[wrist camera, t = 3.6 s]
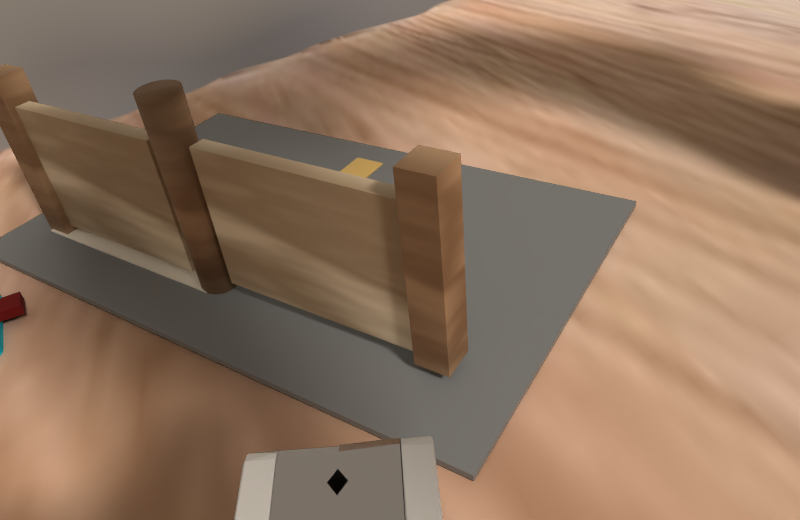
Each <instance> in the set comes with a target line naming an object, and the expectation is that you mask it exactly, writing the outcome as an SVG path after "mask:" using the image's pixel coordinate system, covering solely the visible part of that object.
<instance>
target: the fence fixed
mask: <svg viewBox="0 0 800 520" xmlns="http://www.w3.org/2000/svg"><path fill="white" fill-rule="evenodd" d="M133 95H134V97H135V100H136V103H137V106H138V109H139V112H140V115H141V117H142V120H143V123H144V126H145V129H141V128H137V127H133V126H129V125H125V124H121V123H117V122H113V121H109V120H105V119H101V118H96V117H93V116H88V115H84V114H80V113H76V112H72V111H68V110H64V109H60V108H56V107H52V106H48V105H43V104H39V103H38V101H37V99H36V97H35V95H34V92H33V90H32V88H31V86H30V84H29V81H28V79H27V77H26V75H25V72H24V70H23V68H21V67H16V66H11V65H6V64H4V65H1V66H0V126H1V129H2V130H3V133H4V135H5V136H6V139H7V141H8V142H9V145H10V147H11V149H12V151H13V153H14V155H15V157H16V159H17V161H18V163H19V165H20V167H21V169H22V171H23V173H24V175H25V177H26V179H27V181H28V183H29V185H30V187H31V189H32V191H33V193H34V195H35V197H36V199H37V201H38V203H39V205H40V207H41V209H42V211H43V213H44V215H45V217H46V219H47V221H48V223H49V225H50V227H51V229H55V230H57V231H60V232H62V233H65V234H67V235H68V234H69V233H71V232H73V231H74V230H76V229H78V228H80V229H82V230H85V231H87V232H90V233H93V234H95V235H98V236H101V237H103V238H106V239H109V240H111V241H114V242H116V243H119V244H122V245H124V246H127V247H130V248H132V249H135V250H138V251H140V252H143V253H145V254H148V255H151V256H153V257H156V258H159V259H161V260H164V261H166V262H169V263H172V264H174V265H177V266H180V267H182V268H185V269H188V270H190V271H194V270H196V273H197V276H198V279H199V282H200V284H201V287H202V289H203V290H204V291H206V292H207V293H208V294H222V293H226V292H228V291H230V290H232V289H233V288H235V287H236V286H237V285H236V284H233V283H232V282H231V279H230V276H229V273H228V270H227V266H226V263H225V260H224V257H223V254H222V251H221V247H220V244H219V241H218V238H217V235H216V232H215V228H214V225H213V222H212V219H211V216H210V213H209V209H208V206H207V203H206V200H205V197H204V194H203V190H202V187H201V184H200V181H199V178H198V175H197V171H196V168H195V165H194V162H193V159H192V156H191V152H190V149H189V147H190V146H191V145H193V144H195V143H197V142H198V141H199V140H198V136H197V133H196V130H195V126H194V123H193V120H192V117H191V113H190V110H189V107H188V103H187V100H186V97H185V93H184V91H183V87H182V84H181V82H179V81H177V80H160V81H155V82H151V83H148V84H145V85H143V86H141V87H139V88H138V89H136V90H135V91H134V93H133Z"/></svg>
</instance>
